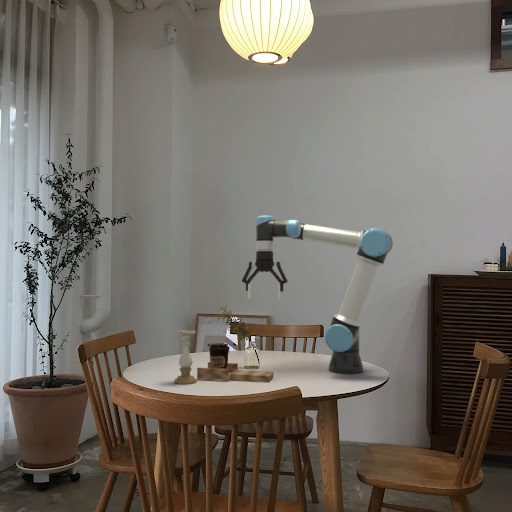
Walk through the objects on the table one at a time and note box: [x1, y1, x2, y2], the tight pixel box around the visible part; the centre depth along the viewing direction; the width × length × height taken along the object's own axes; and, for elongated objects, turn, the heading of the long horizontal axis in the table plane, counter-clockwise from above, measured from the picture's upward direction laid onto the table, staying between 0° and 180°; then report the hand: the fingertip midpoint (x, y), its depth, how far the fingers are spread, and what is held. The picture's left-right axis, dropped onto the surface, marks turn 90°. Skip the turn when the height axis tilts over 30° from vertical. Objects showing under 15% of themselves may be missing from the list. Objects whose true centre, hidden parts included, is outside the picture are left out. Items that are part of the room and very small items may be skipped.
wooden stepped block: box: [196, 361, 275, 383], centre depth 237 cm, size 29×15×5 cm, turn 77°
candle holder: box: [174, 329, 198, 385], centre depth 229 cm, size 9×9×20 cm
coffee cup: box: [208, 342, 230, 369], centre depth 239 cm, size 9×8×13 cm
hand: (264, 298), depth 255 cm, fingers open, 13 cm apart
